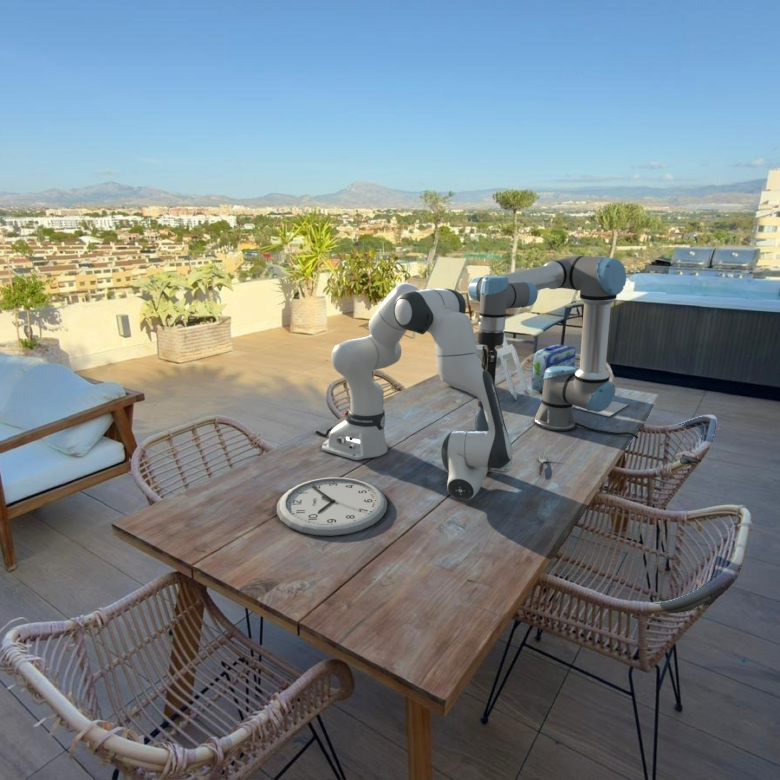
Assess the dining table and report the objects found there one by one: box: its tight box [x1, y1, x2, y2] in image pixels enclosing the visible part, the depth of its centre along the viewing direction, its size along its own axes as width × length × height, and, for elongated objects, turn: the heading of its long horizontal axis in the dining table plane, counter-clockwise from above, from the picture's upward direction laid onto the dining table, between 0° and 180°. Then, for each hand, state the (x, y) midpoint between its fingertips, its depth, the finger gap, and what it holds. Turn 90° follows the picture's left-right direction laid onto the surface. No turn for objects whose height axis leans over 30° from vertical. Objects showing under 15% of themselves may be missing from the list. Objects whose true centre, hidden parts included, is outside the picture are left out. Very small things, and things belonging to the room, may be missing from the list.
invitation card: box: [573, 400, 629, 418], centre depth 226 cm, size 21×1×15 cm
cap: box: [477, 398, 482, 408], centre depth 159 cm, size 4×4×2 cm
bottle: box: [474, 407, 490, 473], centre depth 162 cm, size 6×6×23 cm
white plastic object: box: [440, 330, 531, 400], centre depth 245 cm, size 37×45×31 cm
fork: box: [538, 451, 548, 475], centre depth 168 cm, size 3×16×2 cm, turn 160°
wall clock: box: [276, 476, 388, 537], centre depth 142 cm, size 30×2×30 cm
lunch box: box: [530, 344, 577, 392], centre depth 247 cm, size 26×11×21 cm, turn 134°
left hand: (482, 448), depth 164 cm, fingers closed on bottle, 5 cm apart
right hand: (485, 404), depth 159 cm, fingers open, 7 cm apart
